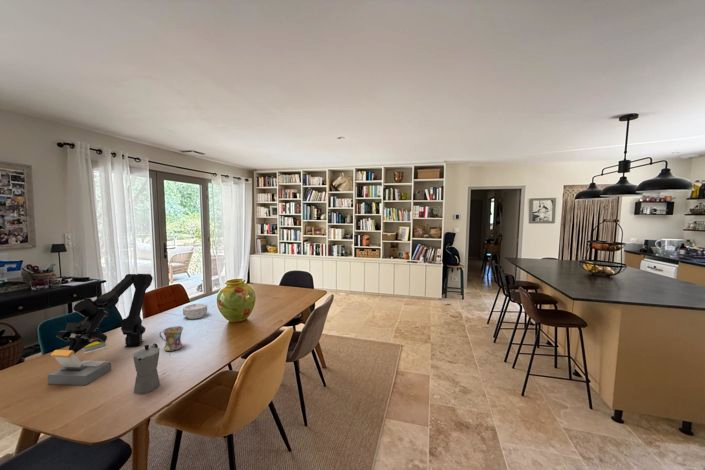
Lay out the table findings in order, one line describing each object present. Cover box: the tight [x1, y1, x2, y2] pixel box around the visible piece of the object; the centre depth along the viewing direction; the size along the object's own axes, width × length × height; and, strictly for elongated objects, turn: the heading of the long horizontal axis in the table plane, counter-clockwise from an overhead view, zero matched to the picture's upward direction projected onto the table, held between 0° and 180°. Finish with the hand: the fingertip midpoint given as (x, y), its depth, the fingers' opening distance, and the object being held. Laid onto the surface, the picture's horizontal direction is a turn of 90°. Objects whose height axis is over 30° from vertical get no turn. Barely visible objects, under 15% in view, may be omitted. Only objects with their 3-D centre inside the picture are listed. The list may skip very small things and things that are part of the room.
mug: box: [159, 325, 184, 352], centre depth 151 cm, size 12×9×11 cm
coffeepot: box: [132, 343, 161, 395], centre depth 117 cm, size 15×9×18 cm, turn 13°
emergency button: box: [80, 339, 108, 354], centre depth 151 cm, size 9×4×15 cm
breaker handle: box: [50, 349, 83, 368], centre depth 119 cm, size 2×7×10 cm, turn 89°
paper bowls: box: [182, 303, 208, 320], centre depth 200 cm, size 15×15×8 cm
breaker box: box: [47, 360, 112, 386], centre depth 123 cm, size 12×16×4 cm
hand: (68, 356), depth 119 cm, fingers closed, pressing on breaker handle
